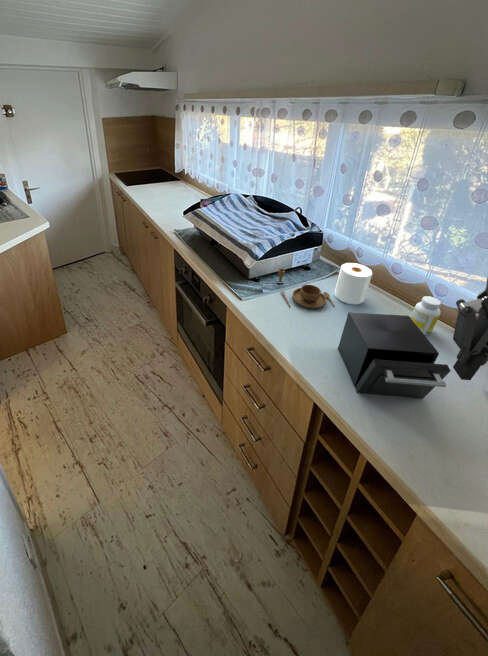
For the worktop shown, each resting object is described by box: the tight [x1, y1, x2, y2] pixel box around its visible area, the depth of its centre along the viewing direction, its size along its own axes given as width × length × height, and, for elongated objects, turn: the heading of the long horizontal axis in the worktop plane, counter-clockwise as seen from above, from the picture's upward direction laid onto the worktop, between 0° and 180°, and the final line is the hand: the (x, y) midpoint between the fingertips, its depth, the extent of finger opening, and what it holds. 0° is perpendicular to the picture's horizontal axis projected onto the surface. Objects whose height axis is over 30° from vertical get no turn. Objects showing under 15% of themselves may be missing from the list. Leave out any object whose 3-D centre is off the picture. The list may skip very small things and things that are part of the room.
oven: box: [337, 311, 440, 388], centre depth 83 cm, size 14×16×14 cm
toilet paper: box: [334, 262, 373, 305], centre depth 113 cm, size 10×10×12 cm
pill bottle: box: [410, 295, 442, 336], centre depth 97 cm, size 6×6×12 cm
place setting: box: [277, 268, 336, 310], centre depth 117 cm, size 18×20×6 cm
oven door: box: [354, 359, 452, 400], centre depth 73 cm, size 5×16×14 cm, turn 83°
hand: (461, 373), depth 56 cm, fingers closed
